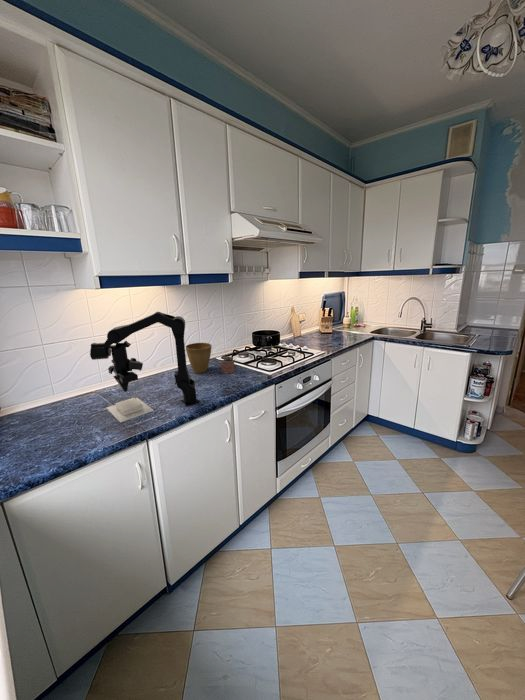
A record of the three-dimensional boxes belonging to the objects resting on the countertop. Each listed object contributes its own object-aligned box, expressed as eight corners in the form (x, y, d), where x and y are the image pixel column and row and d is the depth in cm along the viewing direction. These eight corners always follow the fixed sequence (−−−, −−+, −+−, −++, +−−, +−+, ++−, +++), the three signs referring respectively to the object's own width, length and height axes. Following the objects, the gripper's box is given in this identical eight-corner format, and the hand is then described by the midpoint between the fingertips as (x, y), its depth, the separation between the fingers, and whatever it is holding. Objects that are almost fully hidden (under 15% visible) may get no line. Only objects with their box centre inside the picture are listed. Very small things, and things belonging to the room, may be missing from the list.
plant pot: (197, 377, 164) (195, 350, 159) (183, 371, 174) (180, 346, 169) (218, 370, 174) (216, 345, 170) (203, 365, 184) (201, 341, 180)
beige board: (154, 411, 126) (153, 410, 126) (120, 423, 117) (120, 422, 117) (137, 398, 138) (137, 397, 138) (106, 408, 129) (105, 407, 129)
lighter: (235, 371, 172) (234, 355, 169) (234, 373, 169) (233, 357, 166) (222, 371, 173) (221, 355, 170) (220, 373, 170) (219, 357, 167)
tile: (134, 402, 133) (143, 409, 126) (116, 408, 128) (124, 416, 121) (133, 397, 133) (142, 404, 126) (115, 403, 127) (123, 410, 120)
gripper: (147, 357, 121) (152, 392, 125) (131, 349, 134) (136, 380, 138) (120, 364, 114) (126, 400, 118) (105, 354, 127) (111, 387, 131)
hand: (125, 391), depth 127 cm, fingers closed
